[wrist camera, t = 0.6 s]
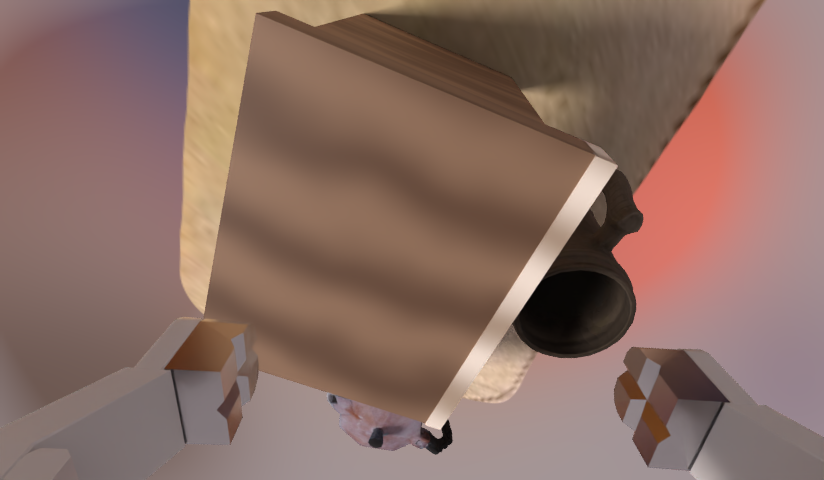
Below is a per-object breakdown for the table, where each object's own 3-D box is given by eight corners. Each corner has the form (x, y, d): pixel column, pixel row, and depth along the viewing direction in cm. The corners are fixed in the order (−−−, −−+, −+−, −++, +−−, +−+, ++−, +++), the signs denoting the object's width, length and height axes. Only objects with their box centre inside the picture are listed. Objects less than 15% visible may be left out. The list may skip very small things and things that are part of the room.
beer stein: (555, 262, 55) (612, 377, 37) (473, 242, 54) (491, 348, 36) (608, 145, 48) (710, 216, 30) (516, 120, 47) (564, 178, 29)
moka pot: (366, 275, 58) (331, 396, 41) (469, 317, 60) (477, 448, 43) (343, 324, 63) (303, 451, 45) (439, 360, 65) (436, 495, 48)
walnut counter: (361, 0, 42) (254, 13, 19) (529, 73, 44) (618, 165, 21) (307, 193, 52) (196, 352, 29) (444, 244, 55) (440, 429, 32)
